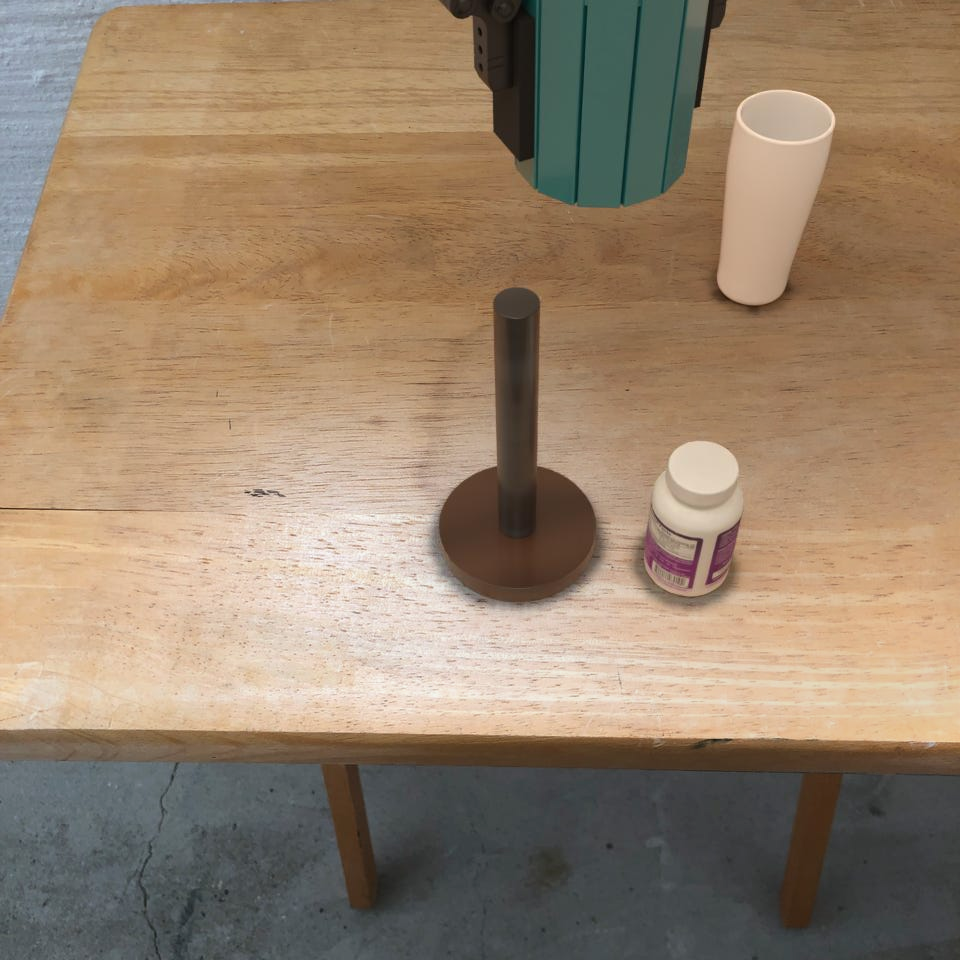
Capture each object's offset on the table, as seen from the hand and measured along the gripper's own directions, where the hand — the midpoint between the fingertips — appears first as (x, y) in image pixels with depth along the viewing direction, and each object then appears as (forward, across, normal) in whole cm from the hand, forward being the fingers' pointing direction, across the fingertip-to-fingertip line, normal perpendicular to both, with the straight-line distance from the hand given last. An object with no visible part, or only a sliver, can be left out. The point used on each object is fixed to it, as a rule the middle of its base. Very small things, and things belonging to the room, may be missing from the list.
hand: (597, 118), depth 51 cm
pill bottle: (+28, -4, +8) cm, 30 cm away
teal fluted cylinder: (+2, 0, 0) cm, 2 cm away
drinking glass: (+28, -22, -12) cm, 38 cm away
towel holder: (+28, +5, +1) cm, 29 cm away
